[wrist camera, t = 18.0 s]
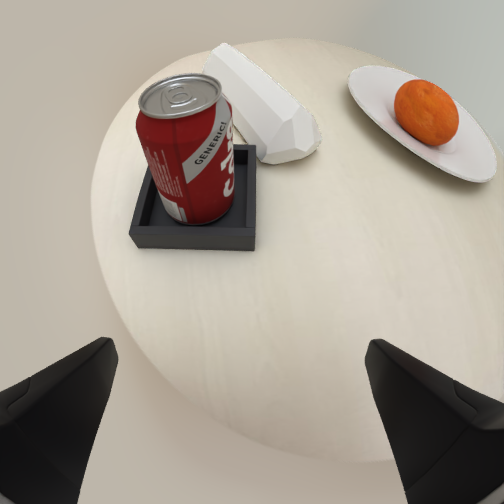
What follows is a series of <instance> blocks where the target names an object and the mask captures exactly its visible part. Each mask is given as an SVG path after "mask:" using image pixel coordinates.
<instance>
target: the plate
mask: <svg viewBox="0 0 504 504" xmlns="http://www.w3.org/2000/svg"><path fill="white" fill-rule="evenodd" d="M348 87H349V90H350V93H351V95H352V96H353V98H354V99H355V101H356V102H357V104H358V105H359V106H360V107H361V108H362V109H363V111H364V112H365V113H366V114H367V115H368V116H369V117H370V118H371V119H372V120H373V121H374V122H375V123H377V124H378V125H379V126H380V127H381V128H382V129H383V130H385V131H386V132H387V133H388V134H390V135H391V136H392V137H393V138H395V139H396V140H397V141H399V142H400V143H401V144H403V145H404V146H405V147H407V148H408V149H410V150H411V151H412V152H414V153H415V154H417V155H418V156H420V157H421V158H423V159H425V160H426V161H428V162H429V163H431V164H433V165H435V166H436V167H438V168H440V169H442V170H444V171H446V172H448V173H450V174H452V175H454V176H457V177H459V178H462V179H465V180H468V181H472V182H487V181H489V180H491V179H492V178H493V177H494V175H495V173H496V169H497V160H496V155H495V152H494V150H493V147H492V145H491V143H490V141H489V139H488V137H487V136H486V134H485V133H484V131H483V130H482V128H481V127H480V126H479V125H478V123H477V122H476V121H475V120H474V119H473V117H472V116H471V115H470V114H469V113H468V112H467V111H466V110H465V109H464V108H463V107H462V106H461V105H459V104H458V103H457V102H456V101H455V100H453V99H452V98H451V97H450V96H449V95H448V94H447V93H446V92H445V91H443V90H442V89H441V88H439V87H438V86H436V85H435V84H433V83H430V82H428V81H425V80H422V79H420V78H418V77H416V76H414V75H411V74H409V73H406V72H403V71H400V70H397V69H394V68H389V67H384V66H373V65H370V66H362V67H359V68H356V69H355V70H353V71H352V72H351V74H350V75H349V77H348Z"/></svg>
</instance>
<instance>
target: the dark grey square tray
mask: <svg viewBox="0 0 504 504" xmlns="http://www.w3.org/2000/svg"><path fill="white" fill-rule="evenodd" d="M233 160H234V190H235V195H234V200H233V203H232V205H231V207H230V208H229V210H228V211H227V212H226V213H225V214H224V215H223V216H221V217H220V218H218V219H217V220H215V221H213V222H210V223H207V224H203V225H186V224H183V223H180V222H178V221H176V220H174V219H173V218H172V217H171V216H170V215H169V214H168V213H167V211H166V210H165V207H164V205H163V202H162V200H161V197H160V194H159V192H158V189H157V187H156V184H155V181H154V179H153V176H152V173H151V171H150V168H149V165H148V168H147V171H146V174H145V177H144V180H143V183H142V187H141V190H140V193H139V197H138V200H137V204H136V207H135V211H134V215H133V219H132V222H131V226H130V230H129V235H130V237H131V238H132V240H133V241H134V243H135V244H136V246H137V247H138V248H162V249H201V250H239V251H254V247H255V227H256V145H237V144H233Z"/></svg>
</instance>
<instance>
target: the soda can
mask: <svg viewBox="0 0 504 504" xmlns="http://www.w3.org/2000/svg"><path fill="white" fill-rule="evenodd" d="M138 104H139V108H140V112H139V114H138V116H137V119H136V131H137V134H138V137H139V140H140V142H141V145H142V148H143V151H144V154H145V157H146V160H147V162H148V165H149V168H150V171H151V173H152V176H153V179H154V181H155V184H156V187H157V189H158V192H159V194H160V197H161V200H162V202H163V205H164V207H165V210H166V211H167V213H168V214H169V215H170V216H171V217H172V218H173V219H174V220H176V221H178V222H180V223H183V224H186V225H203V224H207V223H210V222H213V221H215V220H217V219H218V218H220V217H221V216H223V215H224V214H225V213H226V212H227V211H228V210H229V208H230V207H231V205H232V203H233V200H234V195H235V190H234V160H233V123H232V106H231V103H230V101H229V100H228V98H227V97H226V96H225V95H224V94H223V93H222V86H221V83H220V82H219V81H218V80H217V79H216V78H214V77H212V76H209V75H205V74H198V73H187V74H179V75H174V76H171V77H167V78H165V79H162V80H160V81H158V82H156V83H154V84H152V85H151V86H149V87H148V88H147V89H146V90H145V91H144V92H143V93H142V94H141V96H140V98H139V101H138Z"/></svg>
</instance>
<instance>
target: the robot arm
mask: <svg viewBox="0 0 504 504" xmlns="http://www.w3.org/2000/svg"><path fill="white" fill-rule="evenodd" d="M117 364H118V354H117V351H116V348H115V345H114V342H113V340H112V339H111V338H107V337H100V338H99V339H97V340H95V341H93V342H91V343H90V344H88V345H86V346H84V347H82V348H81V349H79V350H77V351H75V352H73V353H72V354H70V355H68V356H66V357H65V358H63V359H61V360H59V361H57V362H55V363H54V364H52V365H50V366H48V367H46V368H45V369H43V370H41V371H40V372H38V373H36V374H34V375H32V376H31V377H28V378H27V379H25V380H23V381H21V382H19V383H18V384H16V385H14V386H12V387H9V388H8V389H5V390H3V391H1V392H0V504H77V502H78V498H79V494H80V489H81V485H82V481H83V478H84V474H85V470H86V467H87V463H88V460H89V456H90V453H91V450H92V446H93V443H94V440H95V437H96V434H97V430H98V428H99V425H100V422H101V419H102V416H103V413H104V410H105V407H106V405H107V402H108V398H109V396H110V392H111V388H112V384H113V380H114V376H115V372H116V368H117ZM365 366H366V369H367V373H368V377H369V381H370V385H371V389H372V393H373V397H374V400H375V403H376V406H377V408H378V411H379V414H380V417H381V420H382V422H383V425H384V428H385V431H386V434H387V437H388V440H389V443H390V446H391V449H392V452H393V455H394V458H395V461H396V464H397V467H398V471H399V473H400V477H401V481H402V483H403V487H404V491H405V495H406V498H407V502H408V504H504V403H502V402H500V401H497V400H495V399H493V398H490V397H488V396H486V395H483V394H481V393H479V392H477V391H475V390H473V389H471V388H469V387H467V386H465V385H463V384H461V383H459V382H458V381H456V380H453V379H452V378H450V377H449V376H447V375H445V374H443V373H441V372H440V371H438V370H436V369H434V368H433V367H431V366H429V365H427V364H425V363H424V362H422V361H420V360H418V359H417V358H415V357H413V356H411V355H410V354H408V353H406V352H404V351H403V350H401V349H399V348H397V347H395V346H394V345H392V344H390V343H388V342H387V341H385V340H383V339H373V340H371V341H370V343H369V346H368V349H367V353H366V356H365Z"/></svg>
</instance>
